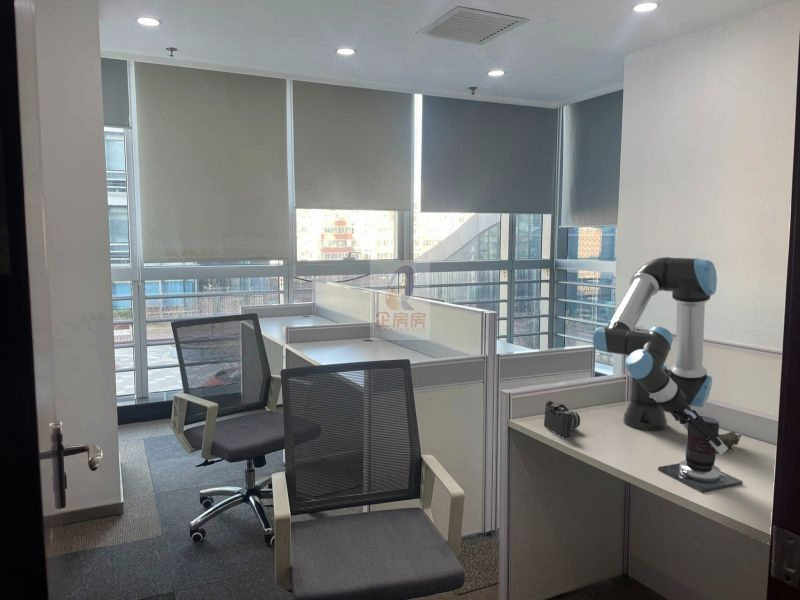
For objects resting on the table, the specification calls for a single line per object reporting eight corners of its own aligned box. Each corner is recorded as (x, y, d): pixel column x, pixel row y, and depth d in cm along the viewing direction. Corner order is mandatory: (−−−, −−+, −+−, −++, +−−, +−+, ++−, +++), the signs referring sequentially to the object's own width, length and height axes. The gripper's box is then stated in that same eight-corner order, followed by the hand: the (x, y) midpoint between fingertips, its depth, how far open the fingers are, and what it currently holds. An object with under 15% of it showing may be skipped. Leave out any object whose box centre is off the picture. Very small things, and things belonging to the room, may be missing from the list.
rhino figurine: (745, 448, 199) (747, 431, 198) (720, 455, 192) (722, 437, 192) (733, 444, 202) (735, 427, 202) (708, 450, 196) (710, 433, 195)
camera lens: (721, 472, 172) (726, 422, 170) (697, 474, 170) (702, 424, 168) (701, 460, 179) (705, 413, 177) (678, 462, 177) (682, 415, 175)
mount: (696, 463, 185) (697, 454, 185) (742, 484, 170) (743, 474, 170) (657, 470, 179) (658, 460, 179) (702, 492, 164) (703, 482, 164)
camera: (588, 436, 207) (590, 409, 205) (562, 439, 203) (563, 411, 202) (565, 423, 220) (567, 397, 219) (540, 425, 217) (542, 399, 215)
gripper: (636, 391, 181) (679, 438, 185) (680, 415, 158) (728, 469, 162) (654, 374, 181) (696, 422, 185) (700, 396, 158) (747, 450, 162)
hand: (711, 444), depth 174 cm, fingers open, 10 cm apart
